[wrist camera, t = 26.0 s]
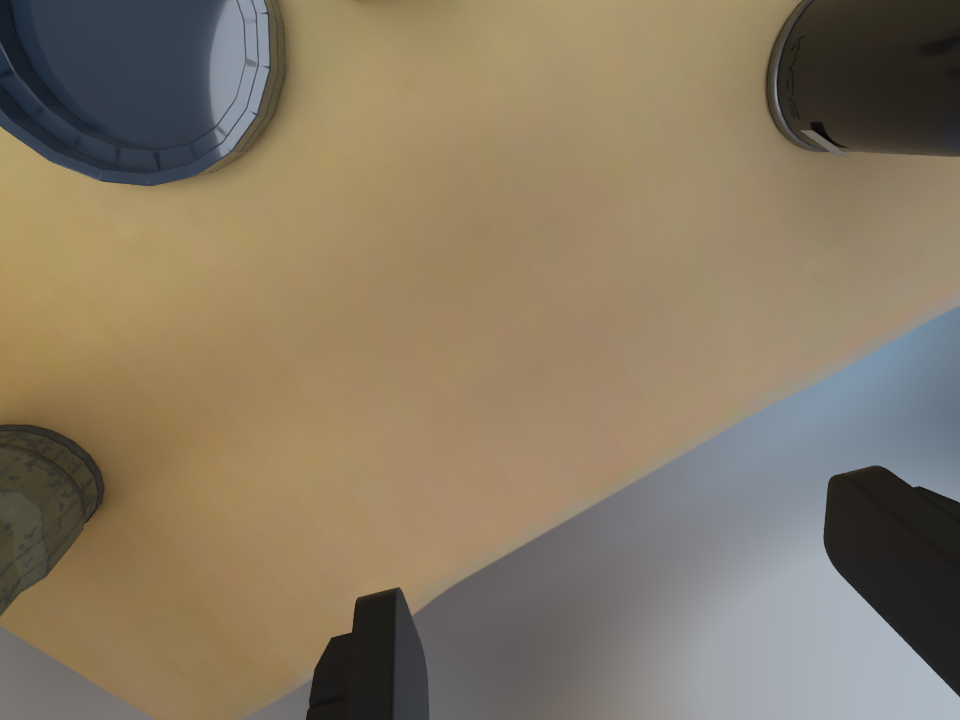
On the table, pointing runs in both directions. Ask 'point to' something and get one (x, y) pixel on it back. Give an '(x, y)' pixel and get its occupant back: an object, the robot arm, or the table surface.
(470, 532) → the table surface
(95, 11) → the bowl
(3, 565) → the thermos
